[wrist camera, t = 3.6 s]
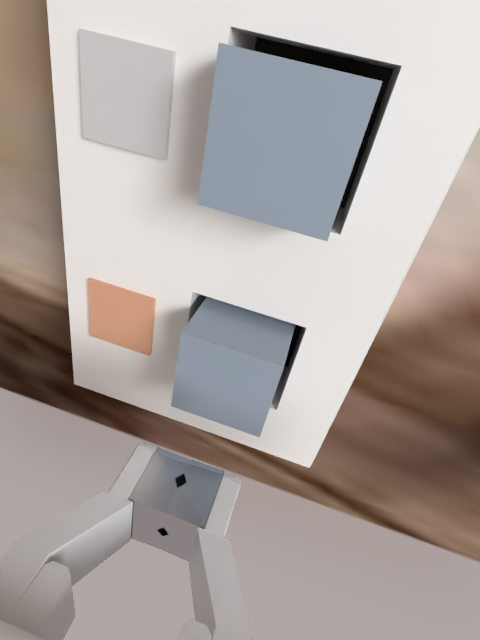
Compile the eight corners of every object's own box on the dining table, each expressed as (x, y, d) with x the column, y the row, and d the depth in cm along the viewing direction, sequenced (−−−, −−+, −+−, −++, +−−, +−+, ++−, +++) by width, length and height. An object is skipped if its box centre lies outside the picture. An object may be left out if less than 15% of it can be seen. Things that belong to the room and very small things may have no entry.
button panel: (102, -775, 7) (-61, -1313, 4) (871, -788, 5) (1344, -1594, 3) (107, 349, 21) (71, 386, 19) (316, 420, 20) (309, 471, 17)
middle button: (252, 51, 11) (218, 42, 8) (377, 81, 11) (382, 81, 8) (230, 179, 13) (197, 203, 10) (334, 207, 13) (327, 241, 10)
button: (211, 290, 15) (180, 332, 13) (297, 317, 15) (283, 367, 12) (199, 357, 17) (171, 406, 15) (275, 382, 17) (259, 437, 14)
